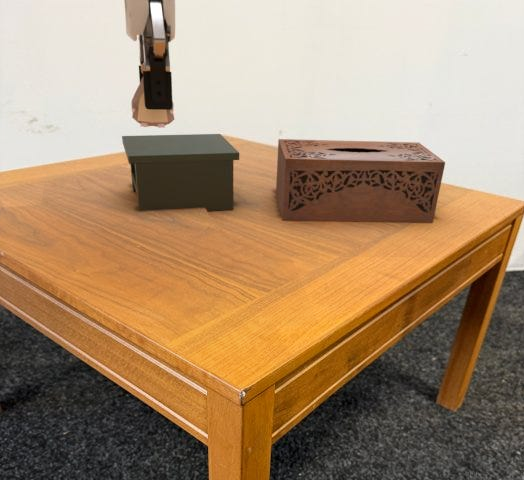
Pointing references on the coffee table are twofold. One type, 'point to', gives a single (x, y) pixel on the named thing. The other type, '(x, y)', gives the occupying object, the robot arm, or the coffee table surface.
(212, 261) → the coffee table surface
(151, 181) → the dark green lidded box
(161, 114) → the mouse figurine
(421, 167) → the tissue box cover
